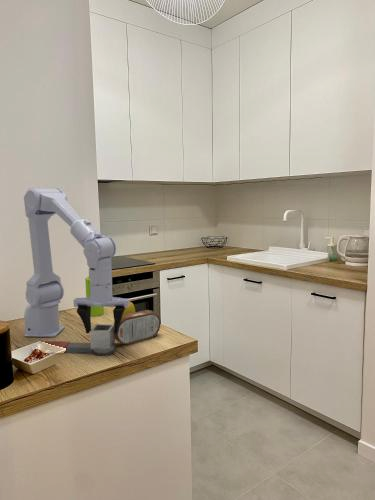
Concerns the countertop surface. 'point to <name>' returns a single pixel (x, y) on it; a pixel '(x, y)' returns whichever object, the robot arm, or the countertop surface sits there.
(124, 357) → the countertop surface
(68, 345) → the ratchet
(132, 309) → the lemon
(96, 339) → the socket
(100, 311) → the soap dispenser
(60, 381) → the countertop surface
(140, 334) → the tin
